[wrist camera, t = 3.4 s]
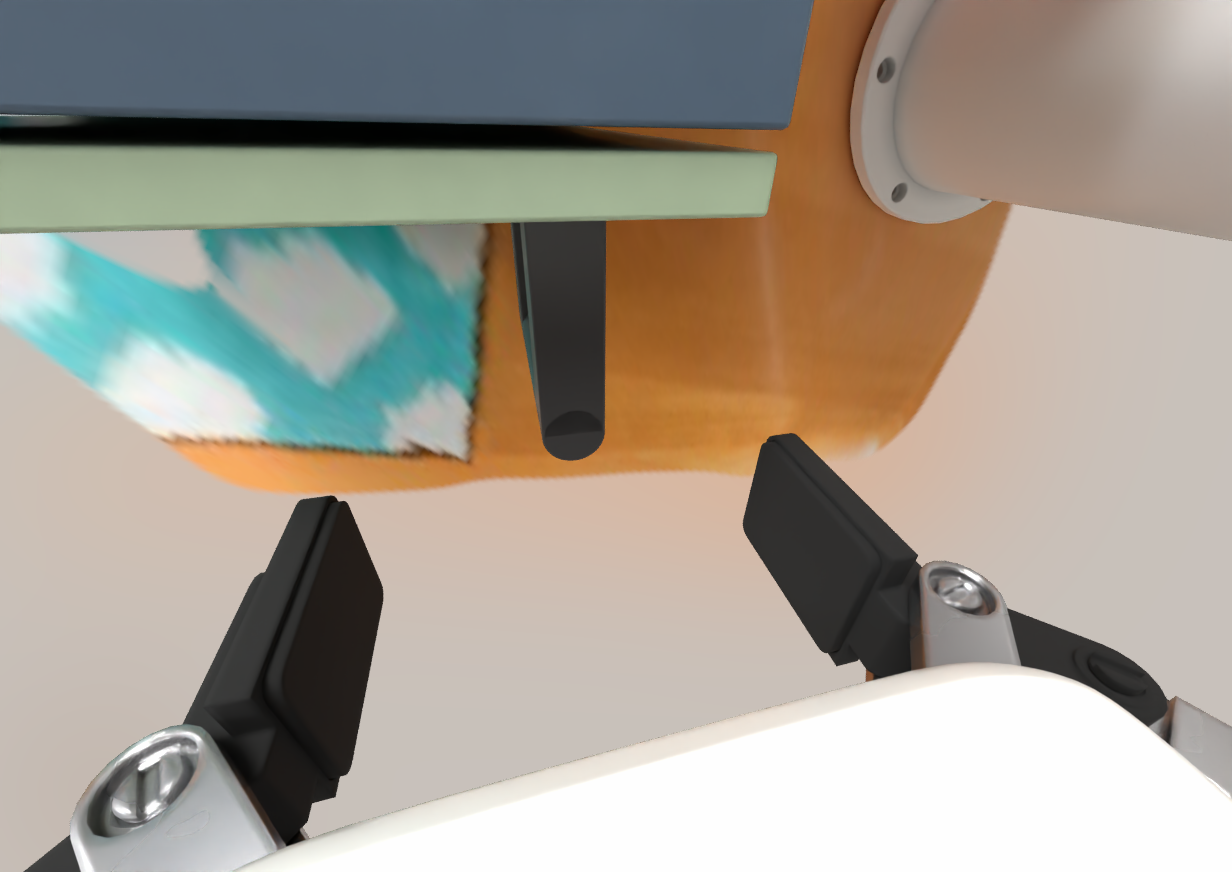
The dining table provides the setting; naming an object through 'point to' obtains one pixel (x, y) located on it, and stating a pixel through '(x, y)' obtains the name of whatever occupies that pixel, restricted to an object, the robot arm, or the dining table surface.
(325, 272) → the dining table surface
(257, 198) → the door
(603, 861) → the robot arm
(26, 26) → the cupboard
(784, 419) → the dining table surface
